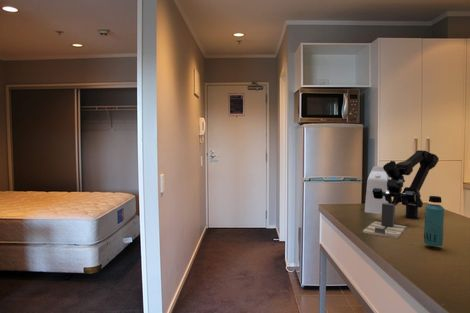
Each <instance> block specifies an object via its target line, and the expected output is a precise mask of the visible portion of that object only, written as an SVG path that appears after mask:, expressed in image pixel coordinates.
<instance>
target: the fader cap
mask: <svg viewBox="0 0 470 313" xmlns="http://www.w3.org/2000/svg"><path fill="white" fill-rule="evenodd" d="M395 213H396V206H395V204H388V203H383V204H382V214H381V220H380V222H381V225H382V226H389V227H393V226H394V225H395V218H396V217H395V215H396V214H395Z"/></svg>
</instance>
